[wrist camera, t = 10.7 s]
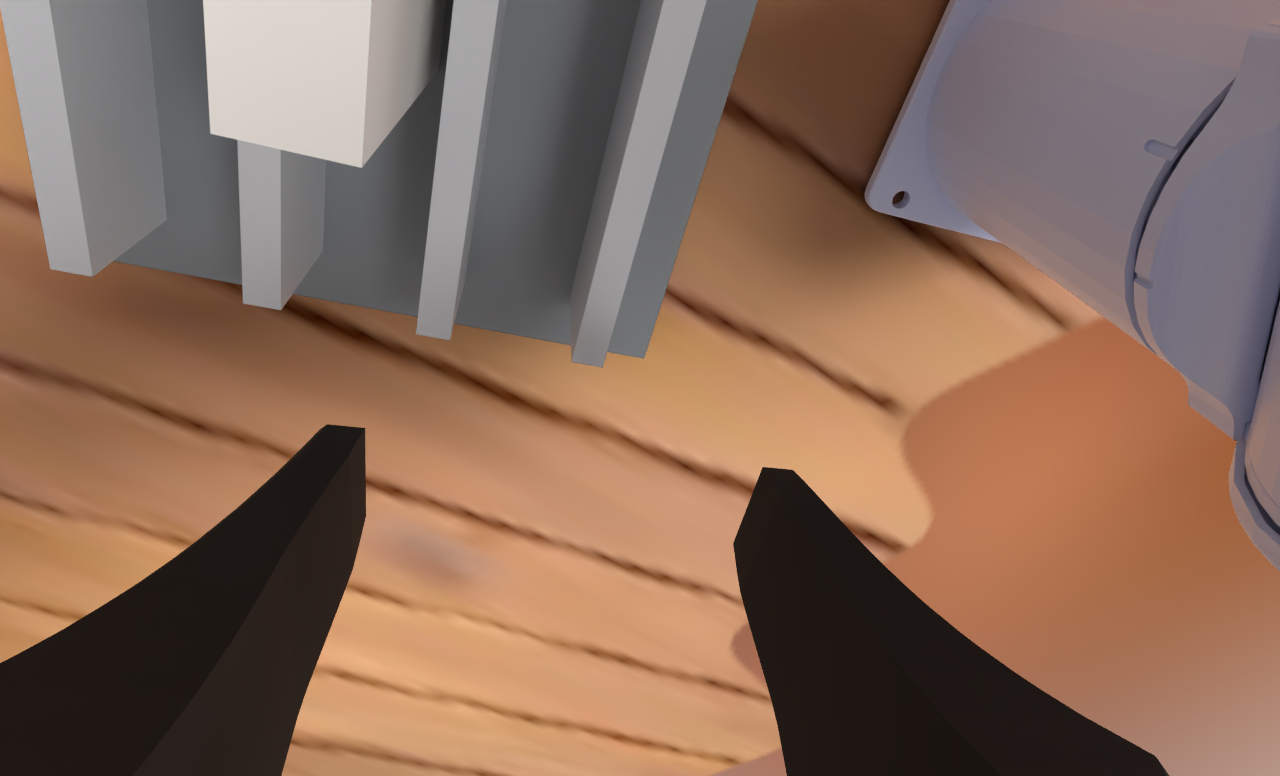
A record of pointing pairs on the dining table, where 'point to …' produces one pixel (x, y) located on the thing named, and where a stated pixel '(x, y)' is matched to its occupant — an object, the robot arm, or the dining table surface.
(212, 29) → the cream plate
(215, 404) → the dining table surface
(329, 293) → the dish rack
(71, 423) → the dining table surface
